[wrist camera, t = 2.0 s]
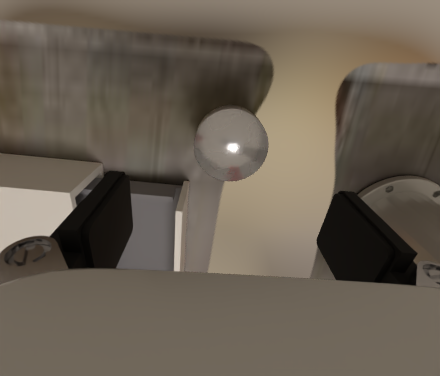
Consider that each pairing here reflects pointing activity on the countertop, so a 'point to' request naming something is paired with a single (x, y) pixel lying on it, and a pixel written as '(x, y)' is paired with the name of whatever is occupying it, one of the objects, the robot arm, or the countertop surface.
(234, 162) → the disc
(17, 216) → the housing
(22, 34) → the countertop surface
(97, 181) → the drawer
